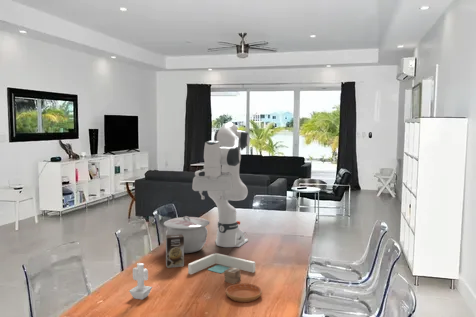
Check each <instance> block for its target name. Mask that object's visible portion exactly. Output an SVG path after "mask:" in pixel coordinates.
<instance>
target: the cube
mask: <svg viewBox="0 0 476 317" xmlns="http://www.w3.org/2000/svg"><path fill="white" fill-rule="evenodd" d="M241 273H242V270H240V269H237V268H232V267H230V268H229V269H227V270H225V272H224V282H225V283H229V284H232V285H234V284H238V282H240V281H241V279H242V278H241Z"/></svg>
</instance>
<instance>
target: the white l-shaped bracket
mask: <svg viewBox="0 0 476 317" xmlns="http://www.w3.org/2000/svg"><path fill="white" fill-rule="evenodd" d="M187 265H188V266H187V268H188V270H187V274H188V275H193V274H196V273H198V272H200V271H202V270H205V269H207V268H210V266H215V265H222V266H226V267H230V268H231V267H232V268H237V269H240V270H241V271H245V272H249V273H252V274H253V273H255V272H256V261H253V260H247V259H244V258H239V257H236V256H231V255H226V254H222V253H219V252H214V253H211V254H209V255H206V256H204V257H202V258H200V259H196V260H194V261H192V262H190V263H188V264H187Z"/></svg>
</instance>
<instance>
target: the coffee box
mask: <svg viewBox="0 0 476 317" xmlns="http://www.w3.org/2000/svg"><path fill="white" fill-rule="evenodd" d="M165 266H166V268H167V269H170V268H179V267H184V266H185V253H184V236H183V235H182V234H177V235H166V234H165Z"/></svg>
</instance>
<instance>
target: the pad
mask: <svg viewBox="0 0 476 317" xmlns="http://www.w3.org/2000/svg"><path fill="white" fill-rule="evenodd" d="M229 268H231V267H228V266H224V265H220V264H215V265H213V266H212V267H208V269H207V268H206V269H207V271H210V272H212V273H213V272H214V273H218V274H224V273H225V270H227V269H229Z"/></svg>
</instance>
